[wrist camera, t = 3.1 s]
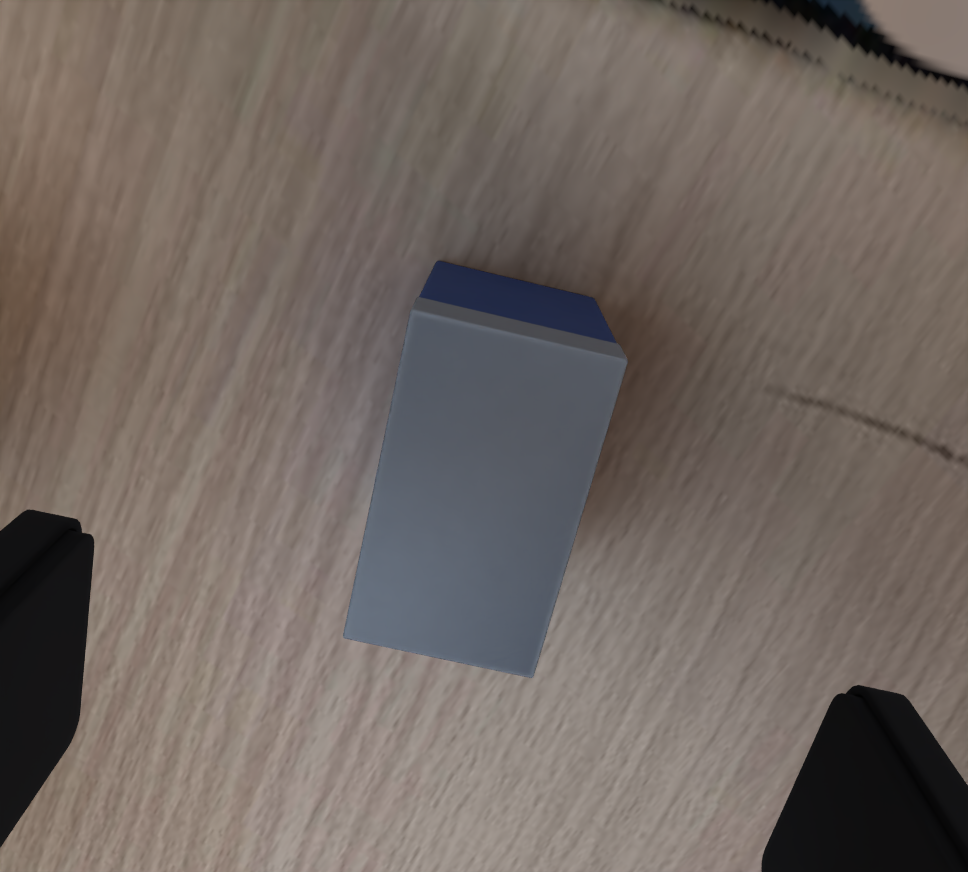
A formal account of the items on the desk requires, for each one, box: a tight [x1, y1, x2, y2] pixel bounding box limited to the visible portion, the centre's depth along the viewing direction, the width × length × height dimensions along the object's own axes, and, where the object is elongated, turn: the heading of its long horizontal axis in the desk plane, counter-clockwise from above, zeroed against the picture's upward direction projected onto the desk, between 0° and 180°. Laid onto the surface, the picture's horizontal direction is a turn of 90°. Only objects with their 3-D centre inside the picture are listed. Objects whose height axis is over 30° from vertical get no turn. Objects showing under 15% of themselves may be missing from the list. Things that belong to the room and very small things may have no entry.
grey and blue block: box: [343, 261, 628, 678], centre depth 20 cm, size 4×7×6 cm, turn 167°
